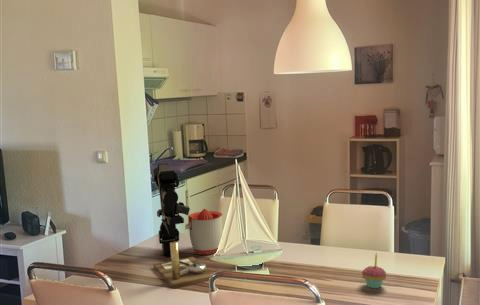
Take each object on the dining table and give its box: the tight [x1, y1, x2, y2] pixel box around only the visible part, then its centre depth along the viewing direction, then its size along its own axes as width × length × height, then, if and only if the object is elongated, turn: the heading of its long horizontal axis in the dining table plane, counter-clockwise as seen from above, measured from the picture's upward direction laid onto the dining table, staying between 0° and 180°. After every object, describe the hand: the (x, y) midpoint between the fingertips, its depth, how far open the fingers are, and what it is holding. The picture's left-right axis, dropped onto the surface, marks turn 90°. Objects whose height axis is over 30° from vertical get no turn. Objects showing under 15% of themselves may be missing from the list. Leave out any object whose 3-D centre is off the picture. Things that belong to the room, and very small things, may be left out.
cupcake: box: [361, 252, 387, 289], centre depth 174 cm, size 9×8×12 cm
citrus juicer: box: [184, 208, 223, 256], centre depth 222 cm, size 16×17×20 cm
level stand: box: [153, 256, 214, 289], centre depth 197 cm, size 26×18×2 cm
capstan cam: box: [170, 241, 207, 279], centre depth 195 cm, size 19×15×14 cm
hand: (171, 236), depth 205 cm, fingers closed
